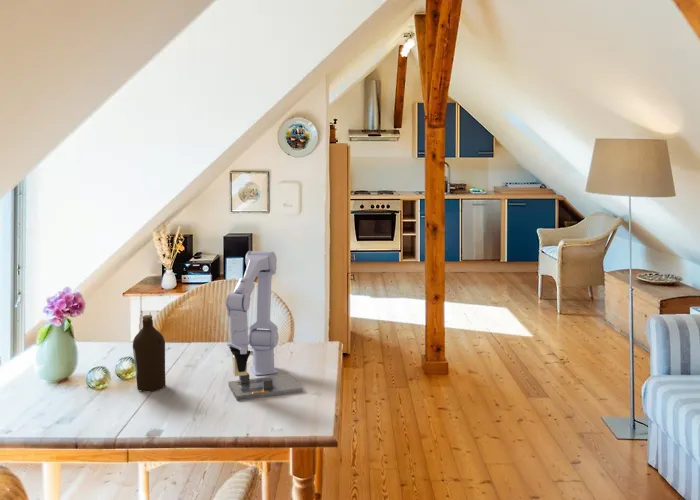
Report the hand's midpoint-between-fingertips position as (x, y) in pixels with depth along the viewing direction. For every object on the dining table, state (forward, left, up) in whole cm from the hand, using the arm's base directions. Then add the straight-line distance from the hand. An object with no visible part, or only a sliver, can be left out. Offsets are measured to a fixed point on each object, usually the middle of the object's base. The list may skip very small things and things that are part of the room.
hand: (240, 369), depth 249 cm
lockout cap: (0, 0, -2) cm, 2 cm away
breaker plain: (-6, +2, -7) cm, 9 cm away
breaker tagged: (+2, +8, -7) cm, 11 cm away
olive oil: (-18, -28, -9) cm, 34 cm away
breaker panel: (-2, +8, -8) cm, 12 cm away
